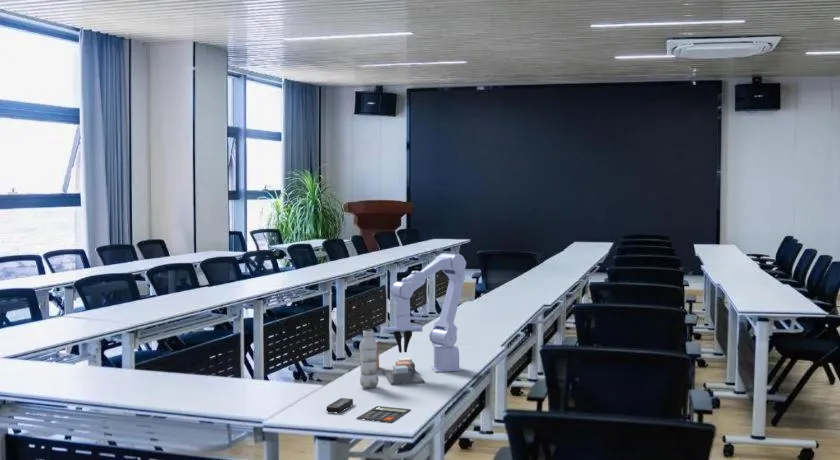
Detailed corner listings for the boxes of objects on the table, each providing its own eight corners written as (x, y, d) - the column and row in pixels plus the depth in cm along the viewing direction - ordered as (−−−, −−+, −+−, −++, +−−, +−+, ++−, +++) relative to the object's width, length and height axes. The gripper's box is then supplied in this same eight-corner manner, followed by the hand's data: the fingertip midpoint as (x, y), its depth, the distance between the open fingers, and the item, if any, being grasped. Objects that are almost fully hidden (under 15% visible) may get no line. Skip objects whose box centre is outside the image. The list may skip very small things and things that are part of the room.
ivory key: (410, 363, 315) (409, 357, 315) (412, 366, 311) (412, 359, 311) (398, 364, 314) (398, 357, 314) (400, 366, 310) (400, 360, 310)
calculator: (355, 417, 252) (377, 405, 266) (356, 420, 252) (377, 408, 266) (391, 421, 248) (410, 408, 261) (391, 424, 248) (411, 411, 261)
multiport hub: (326, 413, 260) (325, 406, 260) (340, 404, 270) (340, 397, 270) (339, 415, 259) (338, 407, 258) (353, 405, 269) (353, 398, 269)
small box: (374, 371, 316) (374, 344, 315) (360, 371, 317) (359, 343, 316) (379, 367, 324) (379, 340, 323) (365, 366, 325) (365, 339, 324)
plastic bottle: (381, 386, 293) (380, 329, 292) (374, 390, 287) (373, 332, 286) (364, 384, 295) (363, 328, 294) (356, 389, 289) (355, 331, 288)
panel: (414, 370, 316) (414, 360, 316) (424, 383, 297) (424, 372, 296) (382, 372, 314) (382, 362, 314) (391, 385, 294) (391, 374, 294)
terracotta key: (408, 367, 308) (407, 361, 308) (410, 370, 304) (410, 363, 303) (396, 368, 307) (396, 361, 307) (398, 371, 303) (398, 364, 303)
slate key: (405, 372, 301) (405, 365, 300) (408, 375, 296) (407, 368, 296) (393, 373, 300) (393, 366, 300) (395, 375, 295) (395, 368, 295)
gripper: (419, 312, 309) (420, 348, 310) (380, 314, 307) (381, 350, 307) (423, 315, 303) (424, 352, 303) (383, 317, 300) (384, 354, 301)
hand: (402, 352), depth 305 cm, fingers closed
